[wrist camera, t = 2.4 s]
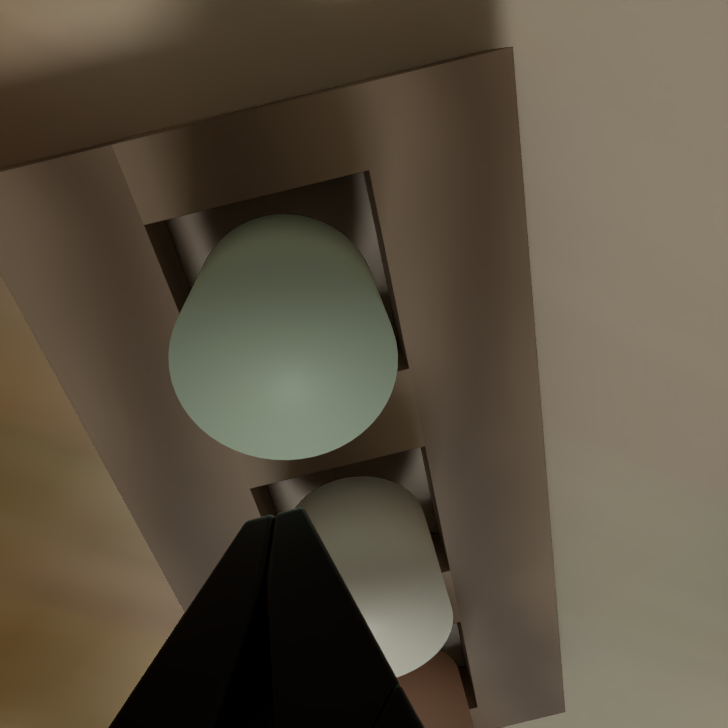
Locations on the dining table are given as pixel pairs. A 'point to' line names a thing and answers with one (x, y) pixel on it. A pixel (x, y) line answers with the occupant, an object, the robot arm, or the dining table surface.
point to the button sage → (283, 341)
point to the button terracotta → (438, 693)
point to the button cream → (385, 564)
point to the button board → (411, 315)
